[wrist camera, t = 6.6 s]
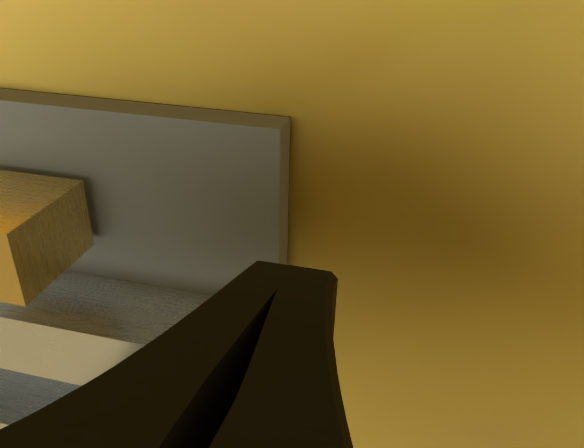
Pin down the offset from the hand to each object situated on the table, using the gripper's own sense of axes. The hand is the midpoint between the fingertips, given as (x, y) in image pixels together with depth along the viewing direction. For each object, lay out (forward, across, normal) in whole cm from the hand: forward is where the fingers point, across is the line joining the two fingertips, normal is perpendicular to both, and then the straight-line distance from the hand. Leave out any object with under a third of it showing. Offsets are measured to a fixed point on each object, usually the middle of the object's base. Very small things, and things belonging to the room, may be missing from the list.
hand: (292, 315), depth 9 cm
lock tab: (+2, +6, 0) cm, 7 cm away
